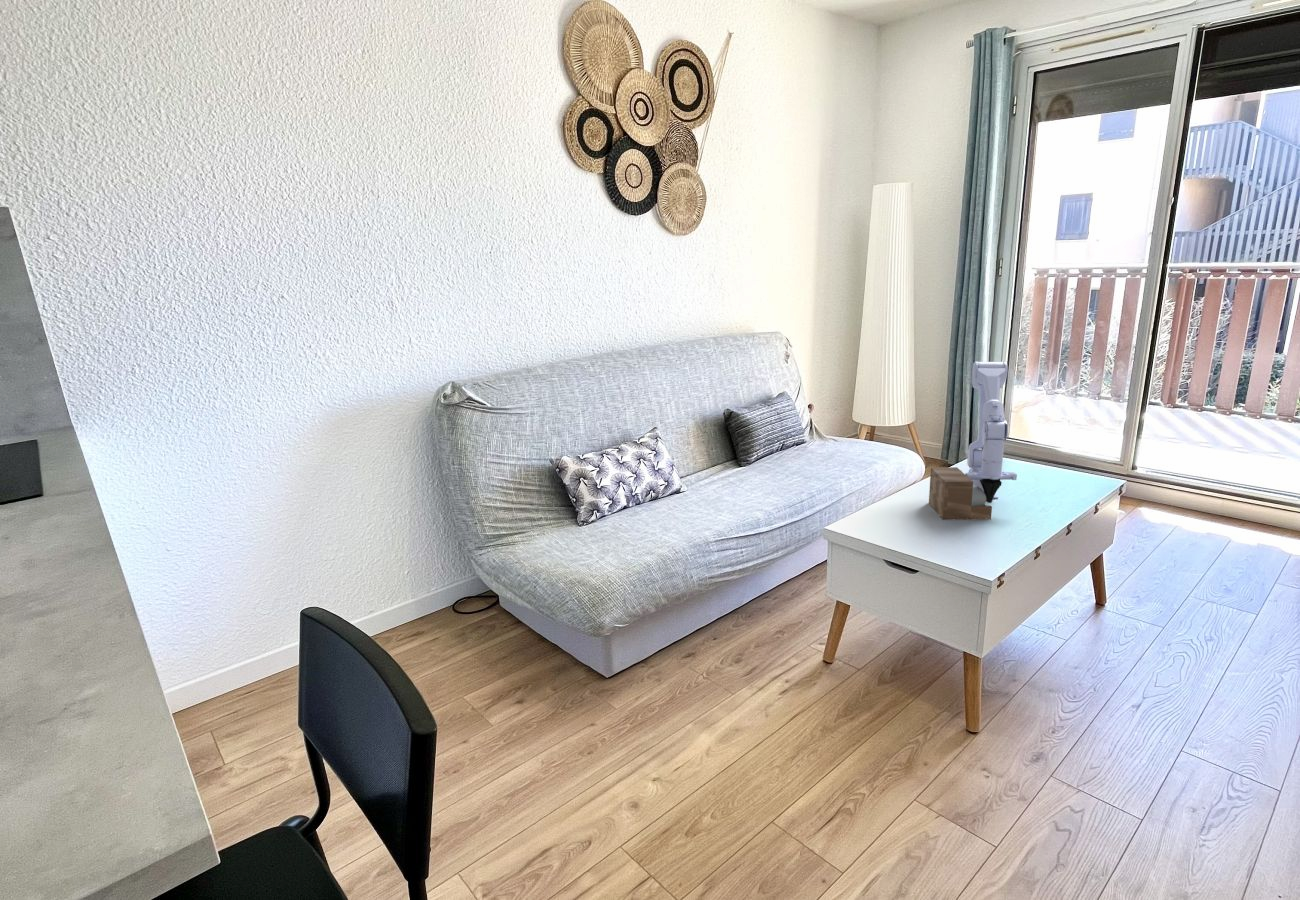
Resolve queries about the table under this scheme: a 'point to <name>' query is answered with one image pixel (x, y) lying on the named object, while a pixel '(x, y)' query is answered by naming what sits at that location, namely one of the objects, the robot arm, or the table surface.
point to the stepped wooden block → (954, 495)
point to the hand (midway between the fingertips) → (988, 501)
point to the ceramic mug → (978, 497)
